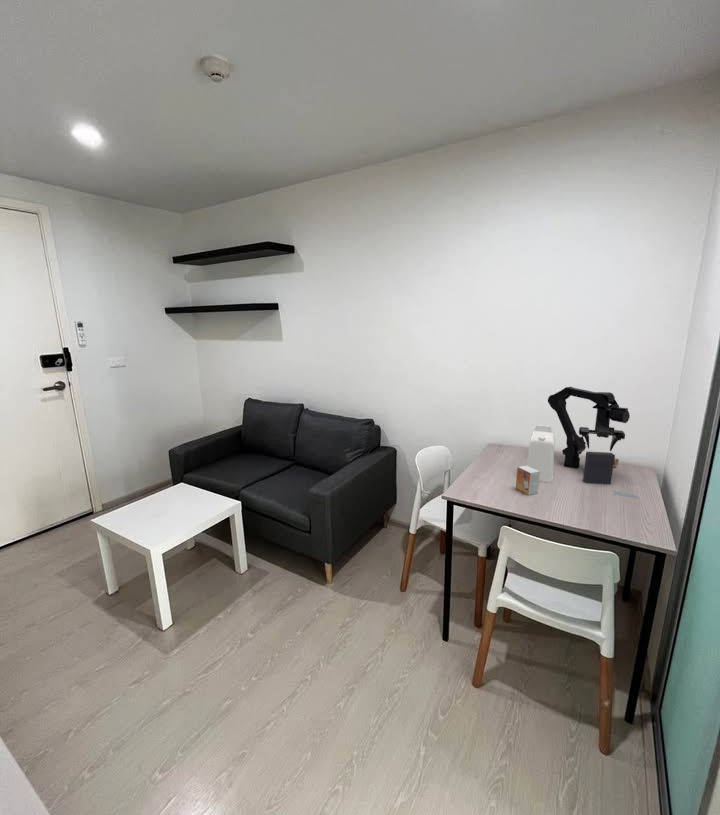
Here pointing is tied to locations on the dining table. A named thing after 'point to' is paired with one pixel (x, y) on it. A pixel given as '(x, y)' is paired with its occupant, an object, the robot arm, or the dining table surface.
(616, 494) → the mat
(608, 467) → the calculator
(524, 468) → the small box
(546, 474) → the milk
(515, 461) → the dining table surface
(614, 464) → the bar
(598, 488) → the dining table surface
